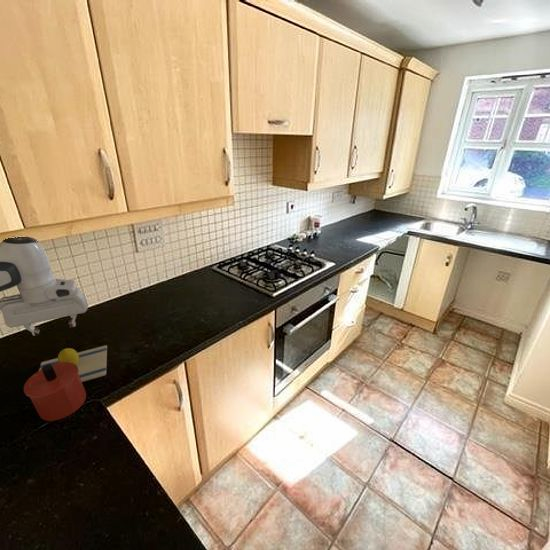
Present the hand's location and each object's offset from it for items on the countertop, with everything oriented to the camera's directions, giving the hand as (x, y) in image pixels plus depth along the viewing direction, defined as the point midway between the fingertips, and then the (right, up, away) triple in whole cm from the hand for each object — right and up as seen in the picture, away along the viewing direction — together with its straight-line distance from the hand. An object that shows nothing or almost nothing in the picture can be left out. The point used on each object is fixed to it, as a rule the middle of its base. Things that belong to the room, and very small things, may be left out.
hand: (55, 330), depth 93 cm
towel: (+1, -14, +7) cm, 16 cm away
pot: (+6, -21, -5) cm, 22 cm away
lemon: (+1, -14, +7) cm, 16 cm away
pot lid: (+6, -12, -9) cm, 16 cm away
